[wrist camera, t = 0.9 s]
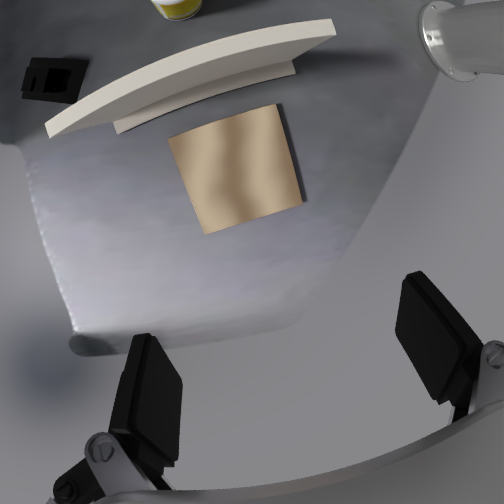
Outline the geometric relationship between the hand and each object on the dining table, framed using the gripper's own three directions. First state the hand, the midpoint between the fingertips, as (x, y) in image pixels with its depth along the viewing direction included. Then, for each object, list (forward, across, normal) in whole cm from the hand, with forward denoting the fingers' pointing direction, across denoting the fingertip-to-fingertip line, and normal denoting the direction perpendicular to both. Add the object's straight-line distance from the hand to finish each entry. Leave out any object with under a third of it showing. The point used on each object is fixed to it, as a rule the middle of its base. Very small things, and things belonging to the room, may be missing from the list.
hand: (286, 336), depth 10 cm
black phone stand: (+26, +19, -18) cm, 37 cm away
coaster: (+25, 0, 0) cm, 25 cm away
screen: (+25, +2, -11) cm, 27 cm away
